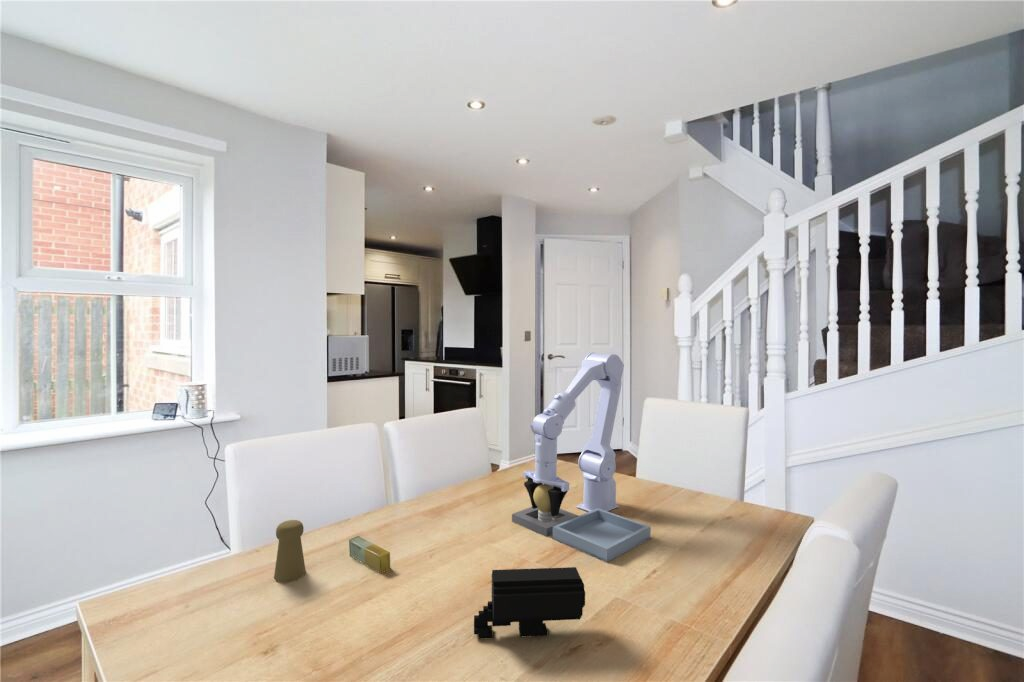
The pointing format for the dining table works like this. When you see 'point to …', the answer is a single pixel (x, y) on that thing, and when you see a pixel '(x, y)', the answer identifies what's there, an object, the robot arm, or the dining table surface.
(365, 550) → the medication box
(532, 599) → the security camera
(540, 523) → the socket block
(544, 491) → the light bulb
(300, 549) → the cork
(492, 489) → the dining table surface
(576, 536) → the parts tray
